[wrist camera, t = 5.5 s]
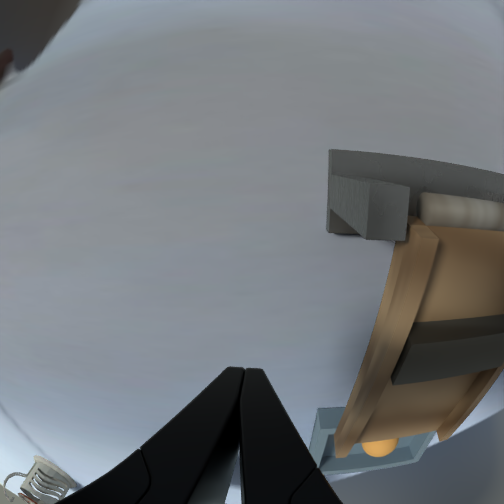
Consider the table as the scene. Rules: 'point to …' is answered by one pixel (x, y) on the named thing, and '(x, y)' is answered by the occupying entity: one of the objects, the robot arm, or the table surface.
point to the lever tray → (423, 297)
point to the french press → (43, 482)
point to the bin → (358, 448)
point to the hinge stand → (395, 190)
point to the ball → (380, 447)
